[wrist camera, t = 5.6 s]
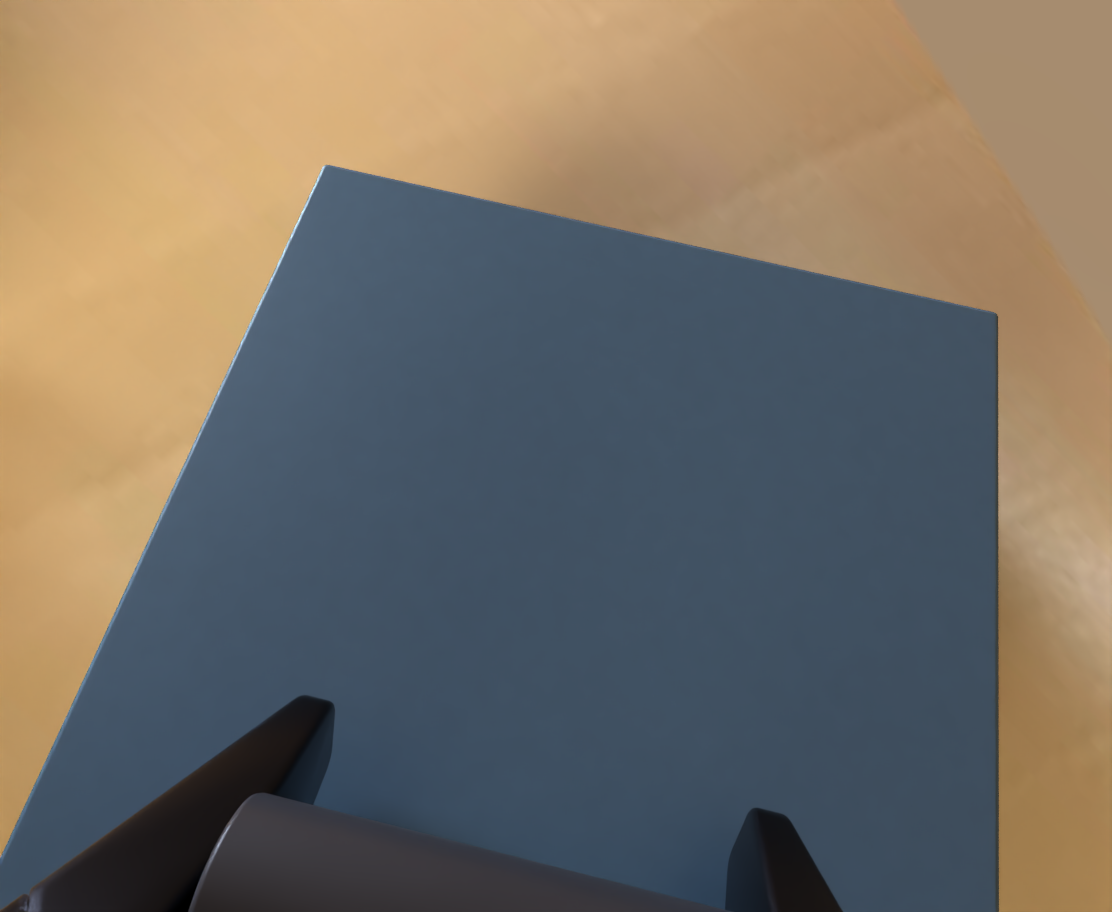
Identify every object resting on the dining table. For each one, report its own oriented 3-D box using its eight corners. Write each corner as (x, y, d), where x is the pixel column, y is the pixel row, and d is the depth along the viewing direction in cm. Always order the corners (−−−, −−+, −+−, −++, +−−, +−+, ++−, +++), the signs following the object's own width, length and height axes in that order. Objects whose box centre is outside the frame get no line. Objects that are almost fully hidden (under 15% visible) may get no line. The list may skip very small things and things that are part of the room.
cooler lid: (964, 1253, 9) (1302, 1549, 5) (-28, 988, 10) (-383, 1081, 6) (976, 337, 15) (1151, 149, 11) (331, 193, 15) (272, -37, 11)
